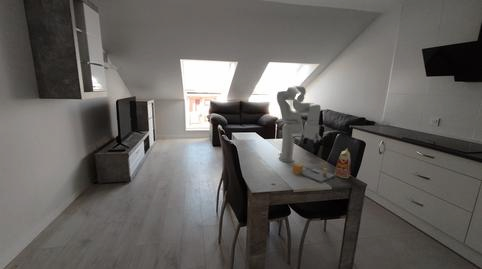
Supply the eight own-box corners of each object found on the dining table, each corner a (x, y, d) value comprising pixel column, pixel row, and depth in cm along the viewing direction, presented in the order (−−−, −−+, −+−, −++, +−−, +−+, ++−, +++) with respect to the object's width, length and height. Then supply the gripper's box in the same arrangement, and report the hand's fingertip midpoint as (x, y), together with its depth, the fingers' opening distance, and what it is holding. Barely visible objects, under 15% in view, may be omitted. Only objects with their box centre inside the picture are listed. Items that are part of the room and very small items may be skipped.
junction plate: (300, 174, 163) (301, 166, 162) (315, 169, 175) (315, 161, 173) (320, 182, 152) (322, 174, 150) (334, 176, 163) (335, 168, 161)
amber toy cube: (292, 172, 167) (293, 164, 166) (296, 170, 170) (297, 163, 169) (297, 174, 164) (298, 166, 162) (302, 173, 167) (302, 165, 165)
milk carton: (337, 171, 172) (341, 146, 167) (350, 175, 166) (354, 149, 162) (333, 175, 165) (337, 149, 161) (347, 179, 160) (351, 151, 155)
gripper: (300, 120, 162) (297, 143, 166) (318, 125, 147) (315, 150, 151) (307, 119, 166) (305, 142, 170) (326, 124, 151) (323, 149, 155)
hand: (309, 146), depth 161 cm, fingers open, 9 cm apart
